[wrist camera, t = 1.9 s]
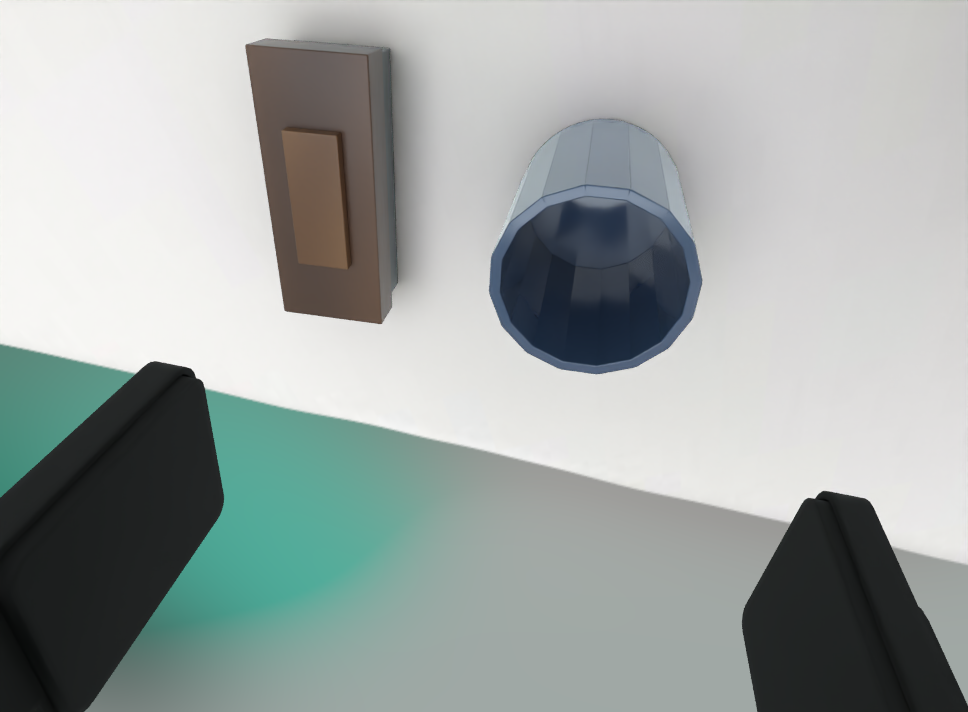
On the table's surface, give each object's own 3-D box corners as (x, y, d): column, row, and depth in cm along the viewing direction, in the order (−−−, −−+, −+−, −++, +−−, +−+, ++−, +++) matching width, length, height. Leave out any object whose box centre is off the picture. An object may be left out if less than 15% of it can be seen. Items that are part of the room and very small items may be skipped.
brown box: (396, 40, 27) (363, 56, 24) (403, 288, 34) (378, 329, 30) (286, 32, 28) (238, 46, 24) (314, 277, 35) (279, 316, 31)
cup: (696, 126, 27) (724, 198, 20) (662, 278, 31) (675, 385, 24) (528, 111, 28) (495, 175, 21) (516, 260, 32) (485, 359, 25)
